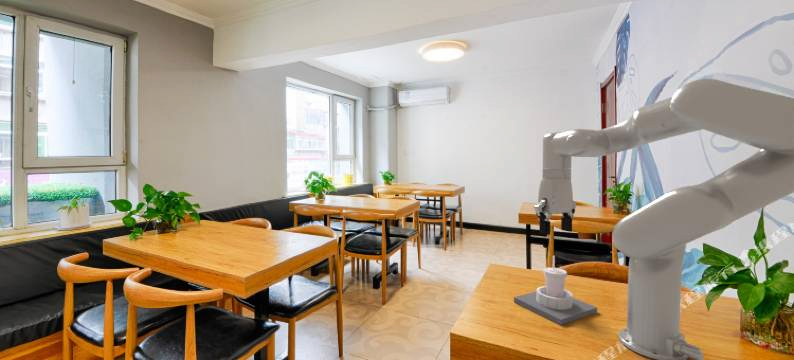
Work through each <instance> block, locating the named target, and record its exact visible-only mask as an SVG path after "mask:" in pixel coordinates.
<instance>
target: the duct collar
mask: <svg viewBox="0 0 794 360" xmlns="http://www.w3.org/2000/svg"><path fill="white" fill-rule="evenodd" d="M513 303H515V304H518V305H519V306H521V307H523V308H526V309H527V310H529V311H531V312H533V313H535V314H537V315H539V316H541V317H543V318H545V319H547V320H550V321H551V322H554V323H555V324H557V325H560V326H563V325H566V324H569V323H572V322H574V321H578V320H579V319H580V320H581V319H582V318H586V317H589V316H591V315H594V314H597V313H598V307H597V306H595V305H592V304H590V303H588V302H585V301H582V300H580V299H577V298H576V297H575V298H574V295H573V293H572V292H571V291H569V290H567V289H565V288H564V291H563V297H562V298H555V297H550V296H547V291H546V285H544V286H543V285H542V286H538V287H537V288H536V290H535V291H532V292H529V293H525V294H521V295H518V296H515V297H513Z"/></svg>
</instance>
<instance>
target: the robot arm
mask: <svg viewBox="0 0 794 360" xmlns="http://www.w3.org/2000/svg"><path fill="white" fill-rule="evenodd" d="M702 130H705V131H707V132H710V133H713V134H715V135H719V136H722V137H725V138H728V139H731V140H733V141H737V142H739V143H742V144H745V145H749V146H751V147H754V148H757V149H759V150H758V151H756V152H755V153H754V154H752V155H751V156H749V157H747V158H746V159H744V160H743V161H740V162H737V163H736V164H734V165H732V166H731V167H729V168H728V169H726V170H724V171H722V172H721V173H718V174H717V175H715V176H713V177H711V178H710V179H708V180H705V181H703V182H701V183H698V184H694V185H687V186H686V185H685V186H681V187H678V188H674V189H672V190H670V191H668V192H665V193H664V194H662V195H660V196H659V197H657V198H655V199H654V200H651V201H650V202H648V203H647V204H645V205H643V206H641V207H640V208H638V209H636V210H635V211H633V212H631V213H629V214H627V216H625V217H623V218H622V219H620V220H619V221H618V222H617V223H615V226H614V227H613V230H612V241H613V242H612V243H613V244H614V247H615V248H616V250H618V251H619V252H620V253H622V255H624V256H626V257H628V258H629V262H628V277H627V305H626V306H627V308H626V310H627V311H626V328H622V329H621V330H619V332H618V340H619V341H620V343H621V344H622V345H624V346H625V347H627V348H628V349H629V350H631V351H632V352H636V353H638V354H639V355H641V356H644V357H647V358H650V359H653V360H688V358H690V359H692V360H704V357H705V356H704V352H702V348H701V347H699V346H696V345H694V344H692V343H691V344H690V343H688V341H686V334H684V333H682V332H680V327H681V325H680V324H681V304H682V303H681V302H682V301H681V299H682V298H681V297H682V285H683V284H682V282H683V280H682V279H683V266H684V260H685V253H686V248H687V244H688V243H691V242H693V241H695V240H698V239H700V238H702V237H705V236H706V235H710V234H711V233H714V232H716V231H719V230H723V229H724V228H726V227H728V226H729V225H731V224H732V223H733V222H736V221H737V220H739V219H742V218H744V217H745V216H747V215H749V214H752V213H754V212H756V211H758V210H760V209H763V208H765V207H767V206H769V205H771V204H773V203H775V202H777V201H779V200H781V199H783V198H785V197H787V196H790V195H791V194H793V193H794V97H790V96H787V95H786V96H785V95H783V94H776V93H772V92H768V91H765V90H758V89H755V88H751V87H745V86H743V85H742V86H741V85H738V84H734V83H730V82H727V81H724V80H720V79H715V78H702V79H696V80H693V81H690V82H687V83H686V84H684V85H682V86H681V87H680V88H678V89H677V90H676V91H675V92H674V94H673V95H672V96H671V97H668V98H665V99H662V100H659V101H657V102H653V103H651V104H647V105H644V106H642V107H639V108H637V109H635V110H634V111H633V113H632V115H631V116H630V117H629V118H628V119H627V120H625V121H623V122H620V123H618V124H615V125H612V126H609V127H606V128H602V129H599V130H598V129H597V130H594V129H588V128H587V129H584V128H576V129H571V130H567V131H564V132H550V133H546V134H544V136H543V138H542V179H540V184H539V189H538V197H537V198H538V199H537V203H536V204H535V205H534V206H533V207H534V211H535V214H536V217H537V220H539V231H538V232H539V234H542V235H546V236H549V235H551V221H550V219H551V217H552V215H557V214H561V215H562V217H560V218H561V220H560V227H561V228H560V230H561V231H565V232H572V231H573V218H574V217H575V216H574V215H575V212H576V208H577V202H575V200H573V199H574V198H573V196H574V195H573V183H572V157H573V158H574V157H575V158H576V157H577V158H600V157H604V156H608V155H609V156H610V155H613V154H617V153H621V152H624V151H628V150H631V149H632V150H633V149H635V148H638V147H642V146H645V145H648V144H650V143H654V142H657V141H658V142H659V141H661V140H666V139H669V138H672V137H677V136H681V135H685V134H686V135H687V134H689V133H695V132H697V131H702Z"/></svg>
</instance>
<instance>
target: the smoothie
mask: <svg viewBox="0 0 794 360" xmlns="http://www.w3.org/2000/svg"><path fill="white" fill-rule="evenodd" d="M555 264H556V257H555V255H552V267H544V268H543V274H544V281H545V286H546V291H547V296H550V297H555V298H562V297H563V291H564V289H565V284H566V280H567V277H568V272H567V271H566V270H564V269H563V268H560V267H556V265H555Z"/></svg>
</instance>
